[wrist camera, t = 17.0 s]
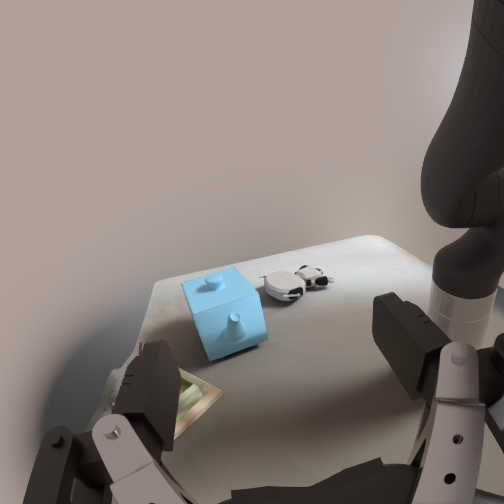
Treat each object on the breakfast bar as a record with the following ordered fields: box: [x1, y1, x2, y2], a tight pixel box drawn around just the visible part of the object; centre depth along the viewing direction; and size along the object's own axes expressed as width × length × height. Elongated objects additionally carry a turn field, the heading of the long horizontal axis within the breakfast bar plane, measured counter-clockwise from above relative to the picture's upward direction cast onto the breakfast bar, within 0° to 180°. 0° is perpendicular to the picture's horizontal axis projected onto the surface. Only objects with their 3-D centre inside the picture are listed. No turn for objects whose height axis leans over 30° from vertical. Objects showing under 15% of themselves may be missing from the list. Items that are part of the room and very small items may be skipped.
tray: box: [112, 367, 223, 440], centre depth 41 cm, size 14×14×4 cm
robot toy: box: [259, 265, 334, 301], centre depth 68 cm, size 12×4×15 cm
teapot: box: [182, 266, 268, 361], centre depth 51 cm, size 22×11×14 cm, turn 21°
